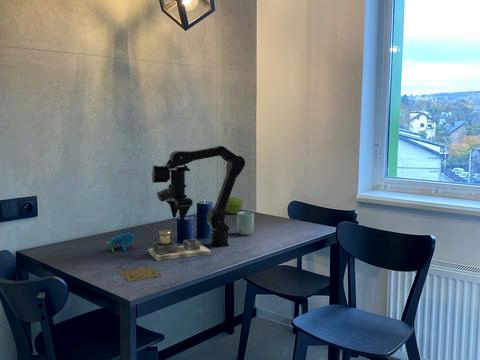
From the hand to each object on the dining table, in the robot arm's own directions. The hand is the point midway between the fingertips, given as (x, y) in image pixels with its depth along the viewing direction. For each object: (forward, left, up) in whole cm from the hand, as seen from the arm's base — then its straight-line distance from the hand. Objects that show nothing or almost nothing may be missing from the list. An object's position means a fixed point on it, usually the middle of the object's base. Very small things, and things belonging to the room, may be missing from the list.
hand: (177, 219), depth 198 cm
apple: (-53, -58, -12) cm, 80 cm away
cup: (-37, -11, -12) cm, 40 cm away
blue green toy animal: (+22, -7, -12) cm, 26 cm away
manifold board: (+2, +8, -12) cm, 15 cm away
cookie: (+23, +27, -13) cm, 38 cm away
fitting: (+8, +8, -10) cm, 15 cm away
